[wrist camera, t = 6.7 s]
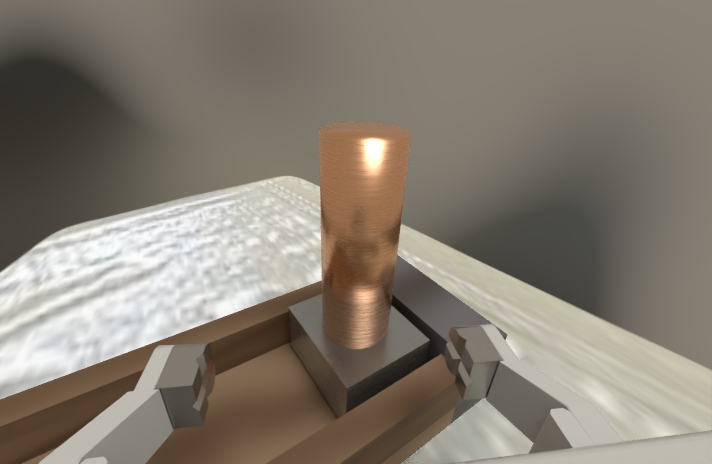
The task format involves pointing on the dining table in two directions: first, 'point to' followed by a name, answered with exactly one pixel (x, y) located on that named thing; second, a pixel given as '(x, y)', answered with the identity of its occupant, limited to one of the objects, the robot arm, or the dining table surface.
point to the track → (264, 392)
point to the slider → (358, 269)
